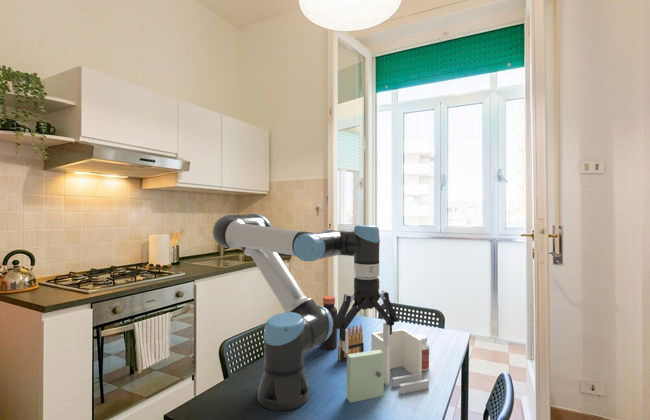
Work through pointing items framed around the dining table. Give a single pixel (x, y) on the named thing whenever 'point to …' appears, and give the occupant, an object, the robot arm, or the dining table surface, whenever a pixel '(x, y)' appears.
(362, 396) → the door
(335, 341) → the vinegar
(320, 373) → the dining table surface
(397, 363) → the cabinet
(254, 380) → the dining table surface
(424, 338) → the pill bottle
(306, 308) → the robot arm
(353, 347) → the ammunition clip
